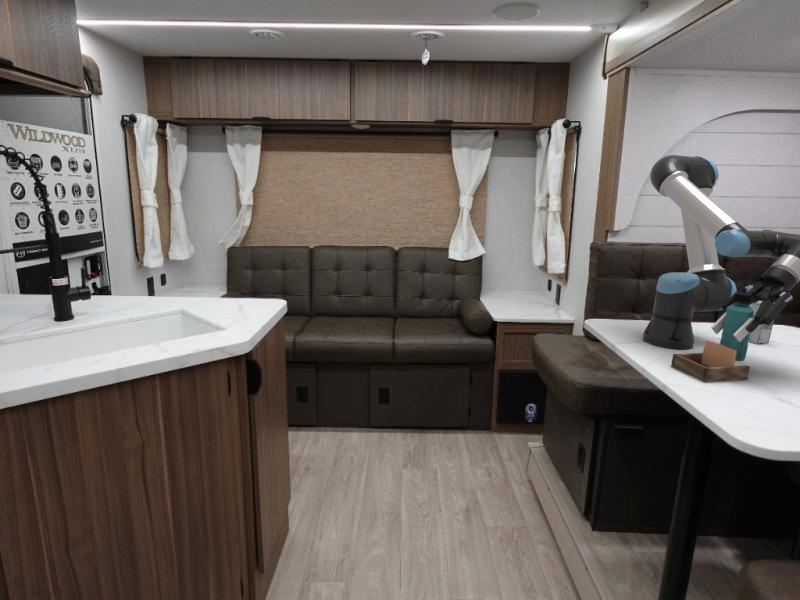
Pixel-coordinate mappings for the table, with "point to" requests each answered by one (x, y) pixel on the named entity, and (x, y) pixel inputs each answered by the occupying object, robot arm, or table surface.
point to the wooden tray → (708, 369)
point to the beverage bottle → (737, 325)
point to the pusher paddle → (717, 355)
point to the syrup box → (760, 328)
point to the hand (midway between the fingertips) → (725, 334)
